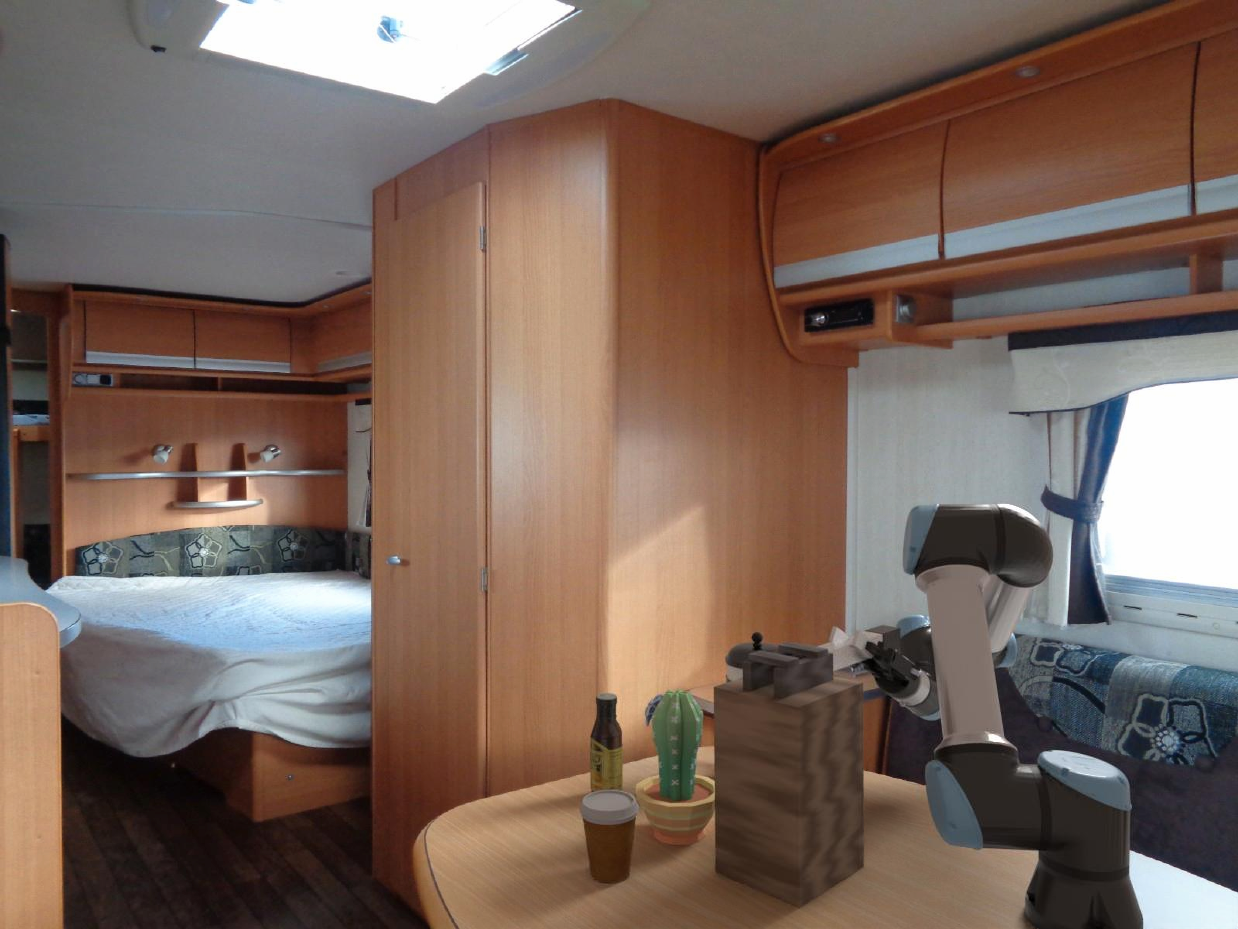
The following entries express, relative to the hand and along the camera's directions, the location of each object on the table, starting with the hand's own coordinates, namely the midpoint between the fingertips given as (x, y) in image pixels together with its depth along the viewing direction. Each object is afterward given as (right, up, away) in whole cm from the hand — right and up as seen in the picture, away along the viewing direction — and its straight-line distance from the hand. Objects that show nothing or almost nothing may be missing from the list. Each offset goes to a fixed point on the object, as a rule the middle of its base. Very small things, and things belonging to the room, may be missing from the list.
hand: (844, 636), depth 161 cm
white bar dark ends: (+2, -5, +2) cm, 6 cm away
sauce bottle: (-41, -35, +21) cm, 58 cm away
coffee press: (-11, -34, +29) cm, 46 cm away
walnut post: (-11, -36, -10) cm, 39 cm away
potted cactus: (-28, -36, +4) cm, 45 cm away
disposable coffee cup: (-40, -36, -10) cm, 55 cm away
